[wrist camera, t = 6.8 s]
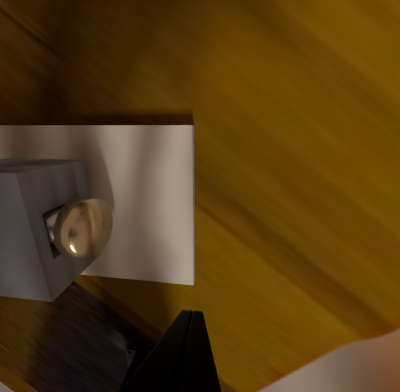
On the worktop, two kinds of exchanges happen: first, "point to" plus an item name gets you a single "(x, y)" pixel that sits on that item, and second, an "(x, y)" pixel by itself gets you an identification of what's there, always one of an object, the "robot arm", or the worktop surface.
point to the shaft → (79, 227)
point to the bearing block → (98, 189)
